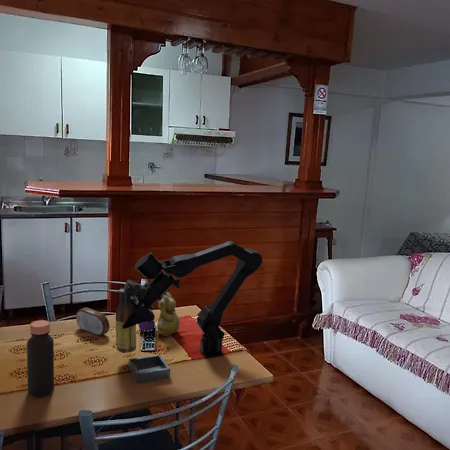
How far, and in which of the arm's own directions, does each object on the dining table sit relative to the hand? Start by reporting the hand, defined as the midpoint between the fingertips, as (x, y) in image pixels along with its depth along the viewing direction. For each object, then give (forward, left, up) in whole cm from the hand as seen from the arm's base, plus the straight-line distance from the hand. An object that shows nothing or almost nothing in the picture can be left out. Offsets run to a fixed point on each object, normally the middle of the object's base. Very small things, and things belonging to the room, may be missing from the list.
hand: (121, 323), depth 148 cm
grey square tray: (-6, +10, -13) cm, 17 cm away
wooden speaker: (+5, -26, -13) cm, 29 cm away
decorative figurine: (-21, -17, -13) cm, 30 cm away
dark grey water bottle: (+25, +10, -13) cm, 30 cm away
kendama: (-15, -27, -13) cm, 34 cm away
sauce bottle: (-1, +1, -9) cm, 9 cm away
